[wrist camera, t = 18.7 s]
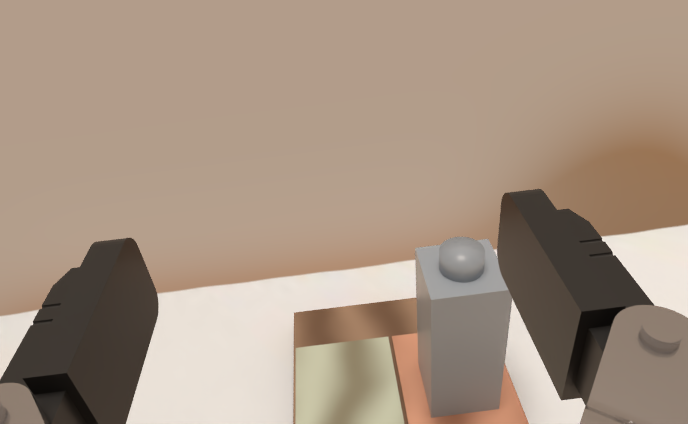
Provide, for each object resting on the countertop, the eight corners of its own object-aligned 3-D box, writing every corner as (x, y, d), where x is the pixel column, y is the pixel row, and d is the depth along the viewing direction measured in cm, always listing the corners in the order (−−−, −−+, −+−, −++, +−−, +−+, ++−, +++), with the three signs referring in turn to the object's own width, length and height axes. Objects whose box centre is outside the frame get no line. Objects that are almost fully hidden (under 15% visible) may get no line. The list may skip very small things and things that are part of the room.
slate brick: (431, 417, 39) (430, 282, 31) (418, 363, 43) (414, 231, 35) (499, 409, 39) (515, 271, 31) (479, 355, 43) (489, 222, 35)
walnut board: (297, 560, 34) (291, 544, 32) (297, 327, 50) (293, 310, 49) (559, 527, 34) (565, 510, 33) (474, 305, 50) (475, 288, 49)
